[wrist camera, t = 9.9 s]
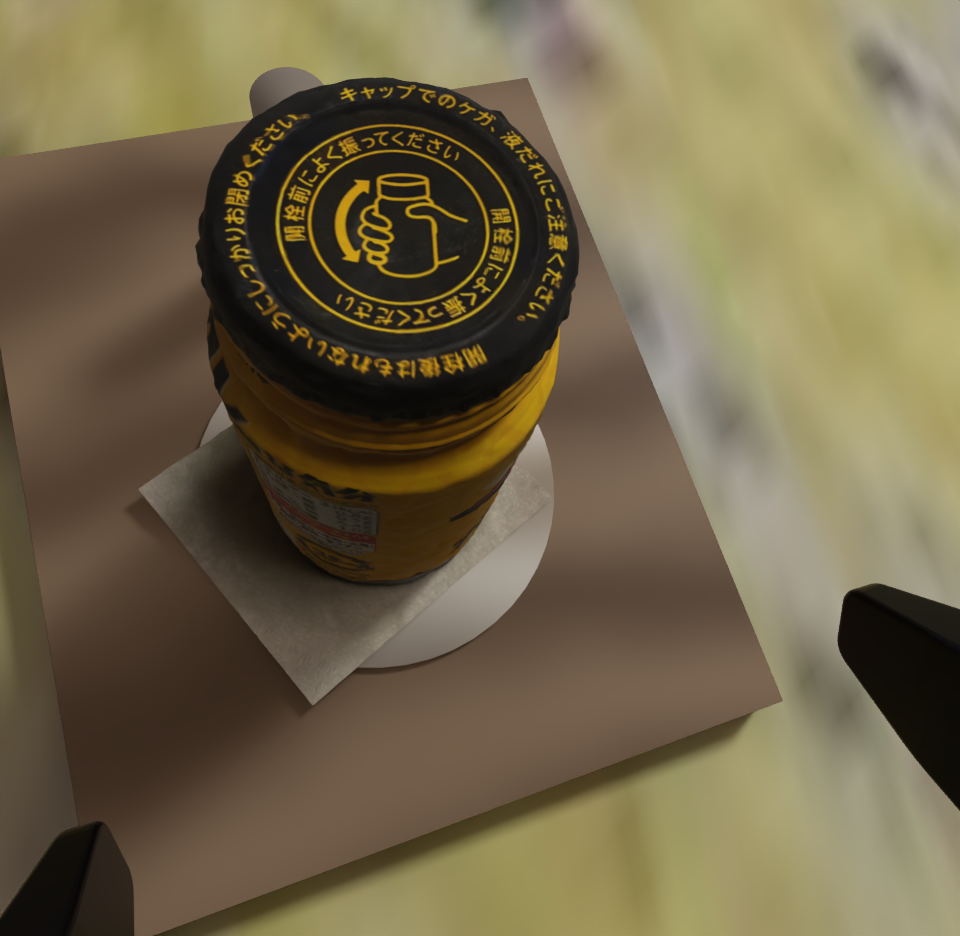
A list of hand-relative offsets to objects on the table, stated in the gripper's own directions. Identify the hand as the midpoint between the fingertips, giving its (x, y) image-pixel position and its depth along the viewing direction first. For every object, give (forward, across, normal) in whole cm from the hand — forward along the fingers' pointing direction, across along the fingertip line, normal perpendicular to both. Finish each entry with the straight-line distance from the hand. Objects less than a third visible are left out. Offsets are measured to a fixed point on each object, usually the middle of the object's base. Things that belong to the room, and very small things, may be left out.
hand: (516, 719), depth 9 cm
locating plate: (+15, 0, +3) cm, 15 cm away
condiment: (+13, +1, +4) cm, 13 cm away
